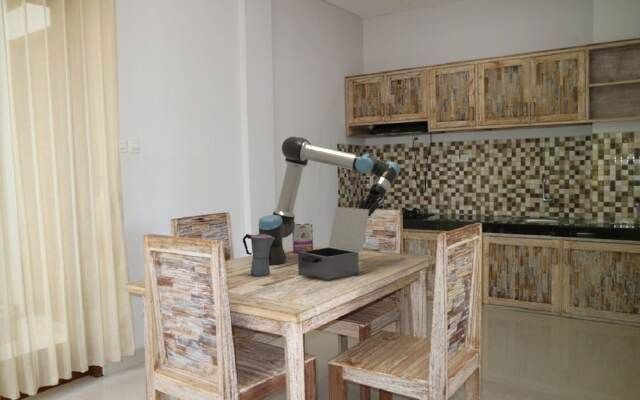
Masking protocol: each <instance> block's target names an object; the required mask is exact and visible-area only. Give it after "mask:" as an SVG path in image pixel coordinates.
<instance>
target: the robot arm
mask: <svg viewBox="0 0 640 400" xmlns="http://www.w3.org/2000/svg"><path fill="white" fill-rule="evenodd" d="M281 153H282V154H283V156H284V157H285V160H284V161H285V163H286V168H285V173H284V177H283V181H282V186H281V190H280V195H279V198H278V202H277V208H276V209H274V210H273V212H272V214H270V215H264V216H261V217H260V218H259V219H258V234H260V230H262V231H263V233H262V234H265V235H270V236H272V237H274V238H275V239H274V240H273V242H272V244H271V246H270V251H269V257H268V259H269V266H277V265H282V264H285V263H287V256H286V252H285V250H284V247H283V239H284V238H285V239H286V238H287V237H289V236H292V233H293V231H294V229H295V224H296V222H295V217H296V215H295V213H294V210H295V209H294V208H295V205H296V200H297V198H298V197H297V196H298V191H299V186H300V184H301V179H302V175H303V171H304V168H306V167H307V166H308V162H309V161H311V162H316V163H320V164H325V165H329V166H333V167H336V168H337V167H338V168H343V169H347V170H351V171H354V172H359V173H361V174H369V173H370V174H372V175H374V176H375V177H377V178H376V179H375V181H374V182H373V184H372V185H371V187H370V188H369V192H368V194H367V195H366V197H361V199H360V203H359V204H358V208H357V209H368V210H369V214H368V217H371V215H373V213H374V212H375V211H376V210H377V209H378V208H379V207H380V206H381V205H383V203H384V201H383V200H382V199H384V197H385V196H386V194H387V192H388V191H389V190H390V188H391V186H392V185H393V183H394V181H395V180H396V179H397V177H398V175H399V173H400V172H401V168H400V167H401V166H399V164H398V163H396V162H395V161H388V162H386V163H385V162H382V161H381V160H380V159H377V158H375V157H373V156H372V155H369V154H368V153H367V154H366V153H365V154H363V155H358V154H354V153H349V152H345V151H341V150H336V149H331V148H327V147H323V146H318V145H314V144H312V142H310V141H309V139H306V138H304V137H300V136H299V137H298V136H289V137H287V138H286V139H284V141H283V142H282V145H281Z"/></svg>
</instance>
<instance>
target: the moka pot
mask: <svg viewBox="0 0 640 400" xmlns="http://www.w3.org/2000/svg"><path fill="white" fill-rule="evenodd" d="M262 233H263V231H262V230H260V234H259V233H258V234H249V233H246V234H245V235H244V236H243V238H242V242H243V246H244V249H245V253H246V255H249V256H252V262H251V267H250V275H252V276H255V277H266V276H269V275H270V274H271V271H270V265H269V259H268V257H269V251H270V246H271V244H272V242H273V240H274V239H275V238H274V237H272V236H270V235H265V234H262ZM246 239H248V240H251V249H252V250H251V251H252V252H250V251H249V249H248V248H249V247H248V245H247V241H246Z"/></svg>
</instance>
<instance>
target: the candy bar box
mask: <svg viewBox="0 0 640 400" xmlns="http://www.w3.org/2000/svg"><path fill="white" fill-rule="evenodd" d="M291 236H292V239H291V240H292V252H293V253H294V254H298V252H301V251H307V250H314V239H313V237H314V236H313V223H312V222H299V223H298V222H297V223H296V222H295V229H294V231H293V233H292V234H291Z"/></svg>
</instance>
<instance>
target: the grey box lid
mask: <svg viewBox="0 0 640 400" xmlns="http://www.w3.org/2000/svg"><path fill="white" fill-rule="evenodd" d="M368 214H369V210H368V209H358V208H355V207H353V208H352V207H340V206H339V207H337V206H336V207H335V210H334V215H333V222H332V227H331V233H330V238H329V243H328V247H330V248H336V249H342V250H348V251H354V252H358V253H362V252H363V247H364V242H365V237H366V229H367V224H368V220H369V216H368Z"/></svg>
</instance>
